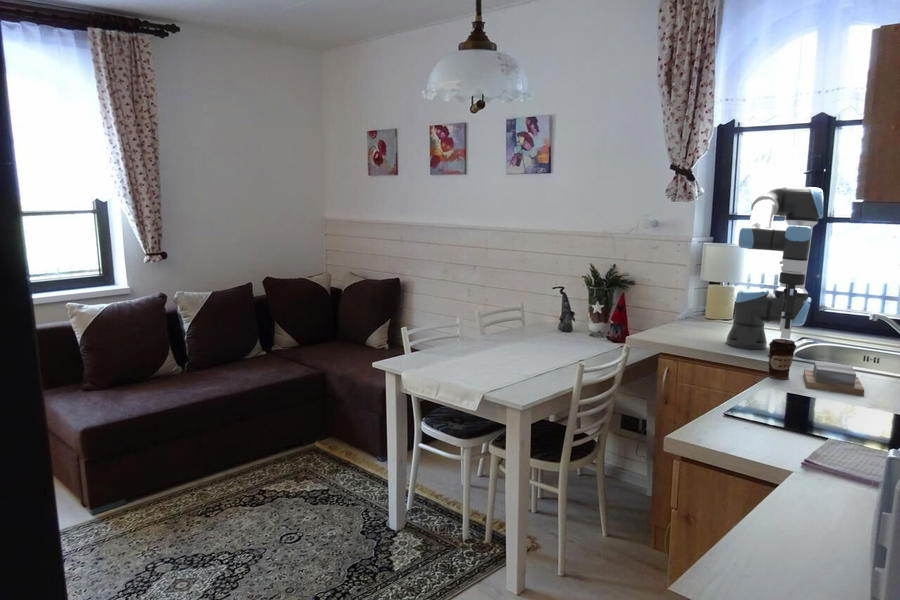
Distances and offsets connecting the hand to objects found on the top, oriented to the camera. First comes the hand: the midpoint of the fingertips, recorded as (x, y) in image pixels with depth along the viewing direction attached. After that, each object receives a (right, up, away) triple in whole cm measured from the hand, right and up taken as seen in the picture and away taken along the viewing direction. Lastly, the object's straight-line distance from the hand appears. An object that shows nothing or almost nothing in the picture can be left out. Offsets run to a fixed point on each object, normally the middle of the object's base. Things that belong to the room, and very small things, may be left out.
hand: (784, 334), depth 219 cm
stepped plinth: (+14, -17, -3) cm, 22 cm away
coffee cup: (0, -15, +3) cm, 15 cm away
